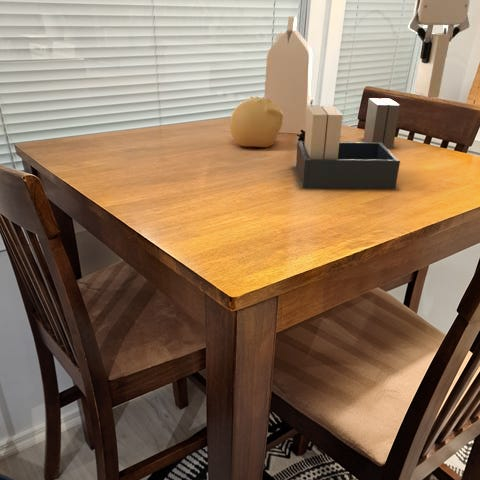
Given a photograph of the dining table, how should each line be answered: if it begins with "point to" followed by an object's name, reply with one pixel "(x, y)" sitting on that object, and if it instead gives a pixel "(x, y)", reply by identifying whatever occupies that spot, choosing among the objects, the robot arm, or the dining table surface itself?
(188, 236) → the dining table surface
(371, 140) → the grey book
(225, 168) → the dining table surface
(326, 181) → the book box
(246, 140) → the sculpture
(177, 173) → the dining table surface
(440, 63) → the white book
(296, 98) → the milk
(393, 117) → the grey book
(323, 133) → the white book
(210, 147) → the dining table surface
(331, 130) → the white book
